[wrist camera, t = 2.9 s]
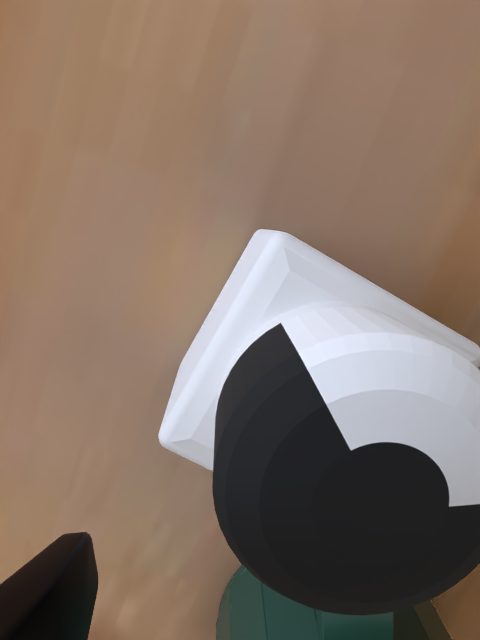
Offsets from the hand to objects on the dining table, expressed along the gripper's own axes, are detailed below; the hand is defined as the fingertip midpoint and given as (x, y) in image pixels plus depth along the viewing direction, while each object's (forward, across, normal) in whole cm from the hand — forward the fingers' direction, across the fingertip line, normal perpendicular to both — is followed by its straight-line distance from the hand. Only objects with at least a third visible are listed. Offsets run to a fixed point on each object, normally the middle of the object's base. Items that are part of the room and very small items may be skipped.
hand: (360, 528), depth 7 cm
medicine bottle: (+13, 0, 0) cm, 13 cm away
